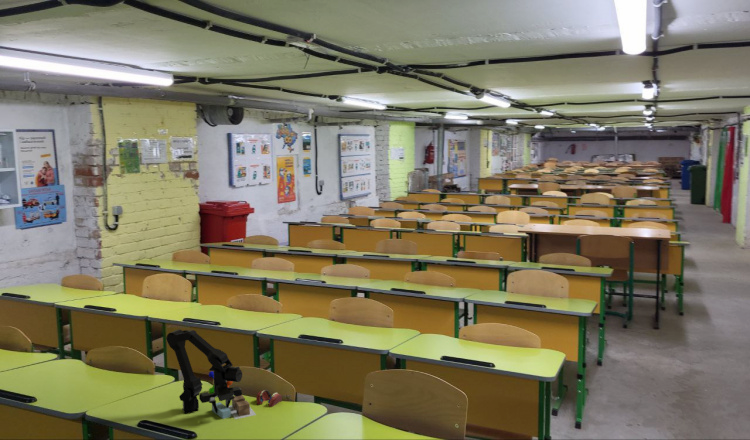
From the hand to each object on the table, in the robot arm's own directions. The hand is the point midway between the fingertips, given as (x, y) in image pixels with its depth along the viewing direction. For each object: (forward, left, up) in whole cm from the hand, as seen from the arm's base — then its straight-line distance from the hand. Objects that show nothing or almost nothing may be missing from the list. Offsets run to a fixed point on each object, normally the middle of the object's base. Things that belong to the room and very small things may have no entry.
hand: (221, 412), depth 278 cm
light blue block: (0, 0, -1) cm, 1 cm away
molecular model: (+6, +27, -1) cm, 28 cm away
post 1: (+9, +3, -1) cm, 10 cm away
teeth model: (+24, +2, -2) cm, 24 cm away
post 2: (+9, -5, -1) cm, 10 cm away
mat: (+9, -1, -1) cm, 9 cm away
